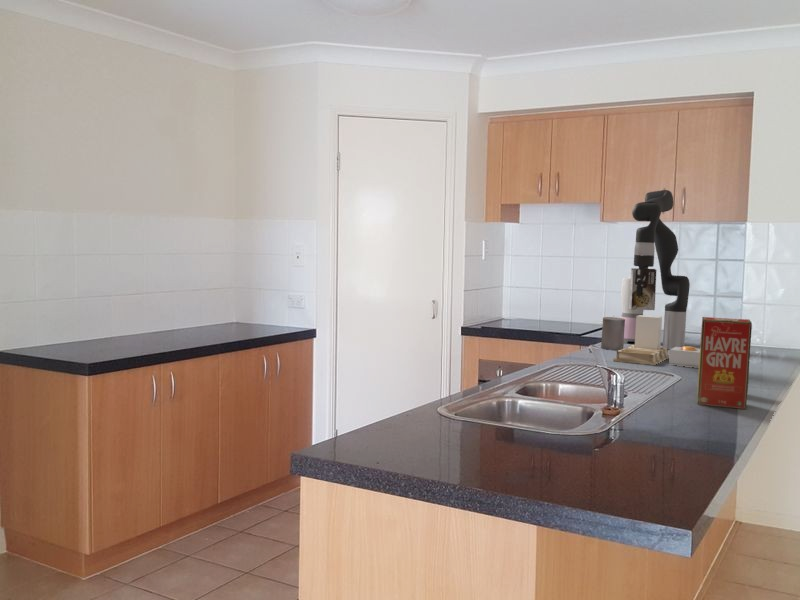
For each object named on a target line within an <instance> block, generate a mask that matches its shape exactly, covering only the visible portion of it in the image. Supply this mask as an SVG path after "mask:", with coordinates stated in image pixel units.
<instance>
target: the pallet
mask: <svg viewBox="0 0 800 600" xmlns="http://www.w3.org/2000/svg"><path fill="white" fill-rule="evenodd" d="M668 353H669V349H668V348H663V346H660V350H652V349H641V348H635V344H632V345H630V346H627V347H625V348H624V347H623V349H621V350H616V357H614V358H613V362H619V363H620V362H621V363H627V364H635V363H640V364H639V365H645V364H650V365H649V366H654V365H655V366H657V365H659V364H660V362H661V363H663V362H665V361H667V360H669V359H668V358H669V354H668ZM666 359H667V360H666ZM664 360H665V361H664ZM662 361H663V362H662ZM658 363H659V364H658ZM656 364H657V365H656Z"/></svg>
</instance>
